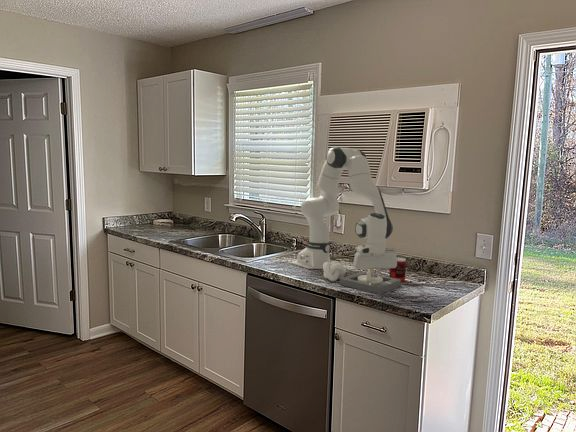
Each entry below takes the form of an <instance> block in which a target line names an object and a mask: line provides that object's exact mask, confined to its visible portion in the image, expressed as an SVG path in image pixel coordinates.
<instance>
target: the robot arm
mask: <svg viewBox="0 0 576 432" xmlns="http://www.w3.org/2000/svg"><path fill="white" fill-rule="evenodd" d="M345 170H346V171H347V173H348V182H349V187H350V189H351V191H352V192H353V193H354V194H356V195H358V196H360V197H362V198H365V199H367V200H368V201H370V202H371V203H372V205H373V209H374V211H375V212H373V213H370V214H368V216H367V217H365V218H361V219H358V220H357V221H356V223H355V226H354V232H355V235H357V236H358V238H359V239H362V240H364V239H366V243H365V244H362V245H358V246H356V249H355V250H356V252H355V254H354V257H353V267H354V268H355V269H361V270H362V269H370V271H371V273H372V278H378V275H380V274H379V273H381V270H382V269H390V268H396V267H397V258H396V257H397V256H398V251H397V249H396V248H394V247H393V248H387V243H386V242H387V241H386V240H387V239H388V238H389V237H390V236H392V233H393V231H394V229H393V228H394V227H393V223H392V221H391V219H390V217H389V214H388V212H387V207H386V204H385V201H384V199H383V194H382V192H381V190H380V188H379V187H377V185H376V184H375V183H374V181H373V177H372V172H371V168H370V164H369V161H368V159H367V156H366V154H365V152H363V151H362V150H360V149H355V148H350V147H339V146H338V147H337V146H336V147H330V149H328V151H327V154H326V157H325V161H324V163H323V165H322V168H321V171H320V174H319V176H318V180H317V188H318V189H319V191H320V192H319V196H318V197H309V198H307V199H304V200H303V201H302V202H301V204H300V210H301V211H300V212H301V214H302V215H303V216H304V218H306V221H307V223H308V227H309V240H308V241H305V245H306V247H305V248H303V249H302V250H301V251H299V252H298V254H297V256H296V260H294V261H292V265H295V266H299V267H302V268H304V269H309V270H315V269H317V270H319V269H320V270H323V264H324V263H325V262H329V263H330V262H331V260H330V249H331V242H330V227H329V226H328V225H327V224H326V222H325V221H326V220H325V218H326V217H332V216H334V215H336V214H338V213H339V210H340V203H339V201H338V199H337V191H338V188H339V184H340V181H341V178H342V174H343V171H345ZM375 269H376V272H374V270H375Z"/></svg>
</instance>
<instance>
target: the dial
mask: <svg viewBox="0 0 576 432" xmlns="http://www.w3.org/2000/svg"><path fill="white" fill-rule="evenodd" d="M366 272H367V275H361V276H358V281H360V282H364V283H371V284H373V285H378V284H380V283H383V278H382V277H379V276H378V278H372V273H371V271H370V268H368V270H367V271H366Z"/></svg>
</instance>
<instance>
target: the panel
mask: <svg viewBox="0 0 576 432" xmlns="http://www.w3.org/2000/svg"><path fill="white" fill-rule="evenodd" d="M367 272H368V271H359V272H356V273H352V274H350V275H346V276H344V277H343V278H340V279H339V283H338V284H339V285H340V286H343V287H349V288H351V289H356V288H357V290H360V289H361V291H364V290H365V291H364V292H369V293H373V294H376V295H382V294H384V293H386V292H388V291H391V290H393V289H395V288H398V287H400V286H401V283H402V282H401V280H400V279H396V278H391V277H389V276H386V275H380V274H378V276H379V277H382V278H383V283H380V284H378V285H373V284H371V283H364V282H360V281H358V276H361V275H367ZM381 293H382V294H381Z"/></svg>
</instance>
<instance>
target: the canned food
mask: <svg viewBox="0 0 576 432" xmlns="http://www.w3.org/2000/svg"><path fill="white" fill-rule="evenodd" d="M396 258H397V267H396V268H389V272H388V273H389V274H388V277H391V278H396V279H400V280H401V283H403V282H405V281H406V271H407V269H406V267H407V259H406V258H404V257H396Z"/></svg>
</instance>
